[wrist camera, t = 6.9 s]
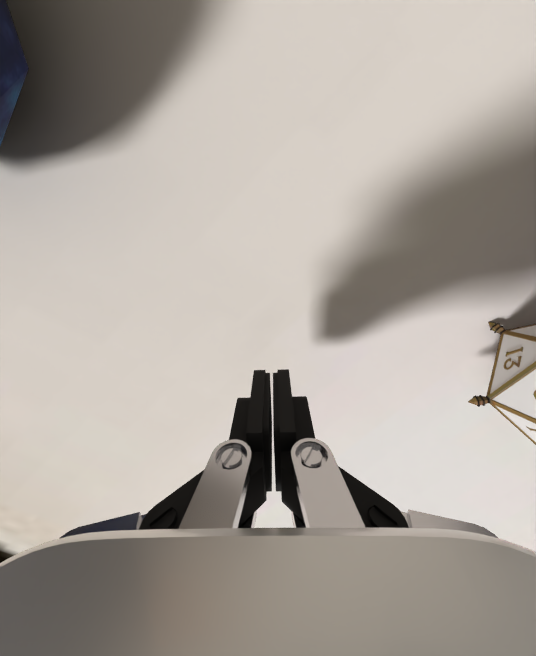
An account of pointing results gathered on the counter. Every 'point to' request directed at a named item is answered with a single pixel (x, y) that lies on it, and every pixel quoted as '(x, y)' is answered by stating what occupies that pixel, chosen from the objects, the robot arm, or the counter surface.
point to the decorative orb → (9, 67)
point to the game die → (514, 378)
